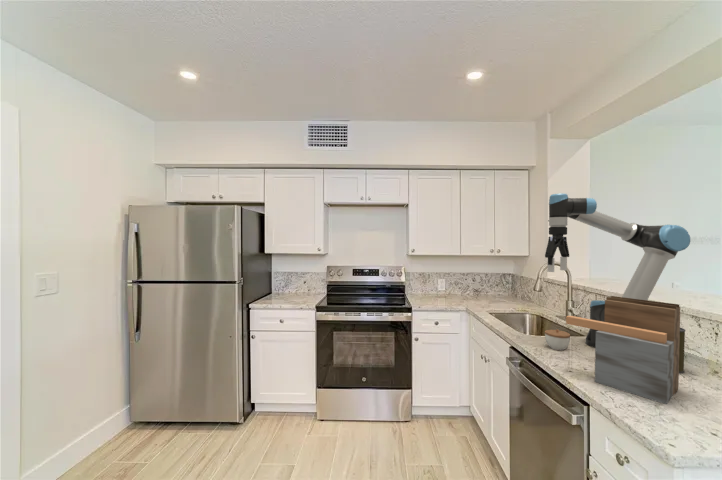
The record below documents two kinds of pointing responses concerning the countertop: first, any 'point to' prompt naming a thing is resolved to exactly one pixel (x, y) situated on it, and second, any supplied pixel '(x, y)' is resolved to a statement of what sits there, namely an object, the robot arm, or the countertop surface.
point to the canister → (681, 350)
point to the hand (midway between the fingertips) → (557, 271)
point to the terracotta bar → (618, 329)
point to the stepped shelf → (639, 349)
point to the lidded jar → (557, 339)
